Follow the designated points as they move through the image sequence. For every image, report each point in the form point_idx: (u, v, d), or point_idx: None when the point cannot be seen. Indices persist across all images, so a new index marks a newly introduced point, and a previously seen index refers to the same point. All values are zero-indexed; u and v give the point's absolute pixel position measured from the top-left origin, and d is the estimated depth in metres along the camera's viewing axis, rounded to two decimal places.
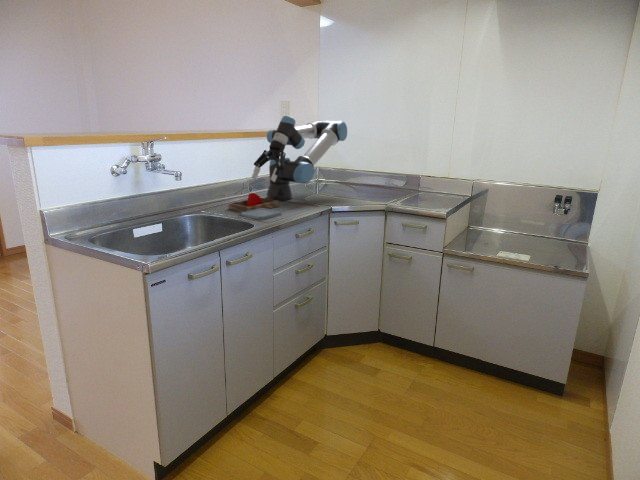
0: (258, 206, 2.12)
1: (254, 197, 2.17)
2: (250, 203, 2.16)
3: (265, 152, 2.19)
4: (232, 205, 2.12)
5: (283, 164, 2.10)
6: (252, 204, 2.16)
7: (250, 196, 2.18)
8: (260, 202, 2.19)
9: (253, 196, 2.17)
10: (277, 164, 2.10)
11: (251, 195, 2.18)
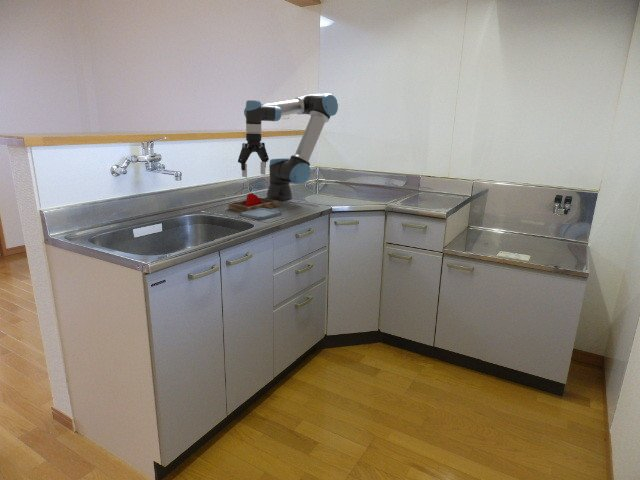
0: (258, 206, 2.12)
1: (252, 197, 2.16)
2: (248, 203, 2.15)
3: None
4: (232, 205, 2.12)
5: (240, 157, 2.05)
6: (250, 204, 2.15)
7: (248, 196, 2.17)
8: (258, 202, 2.18)
9: (251, 196, 2.16)
10: None
11: (249, 195, 2.17)
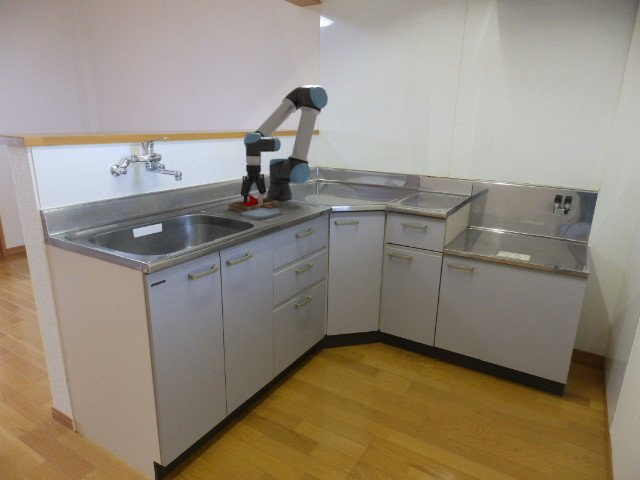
0: (258, 206, 2.12)
1: (250, 199, 2.14)
2: (246, 205, 2.13)
3: None
4: (232, 205, 2.12)
5: (242, 191, 2.11)
6: (248, 206, 2.13)
7: None
8: (256, 204, 2.16)
9: (249, 198, 2.14)
10: None
11: None
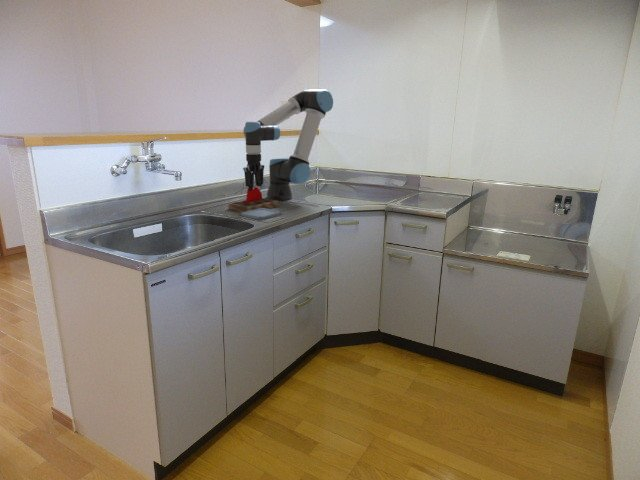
0: (258, 206, 2.12)
1: (253, 190, 2.15)
2: (249, 196, 2.14)
3: None
4: (232, 205, 2.12)
5: (247, 182, 2.12)
6: (251, 197, 2.14)
7: None
8: (259, 195, 2.16)
9: (252, 189, 2.15)
10: None
11: None
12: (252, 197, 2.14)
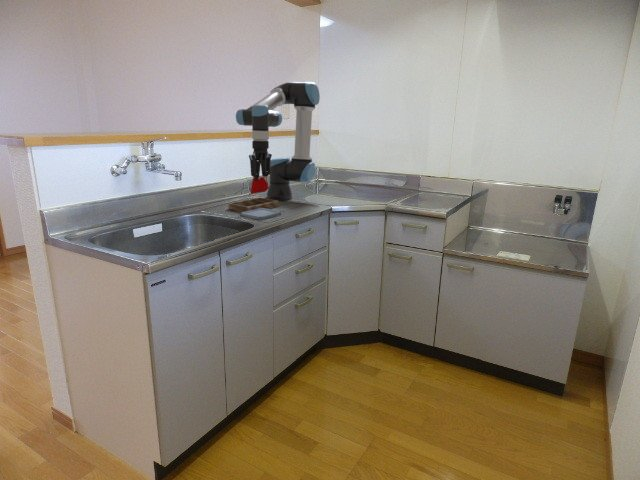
0: (258, 206, 2.12)
1: (259, 180, 1.96)
2: (254, 187, 1.95)
3: (265, 155, 2.01)
4: (232, 205, 2.12)
5: (252, 171, 1.94)
6: (257, 188, 1.96)
7: None
8: (265, 186, 1.98)
9: (258, 179, 1.97)
10: None
11: None
12: (257, 188, 1.96)
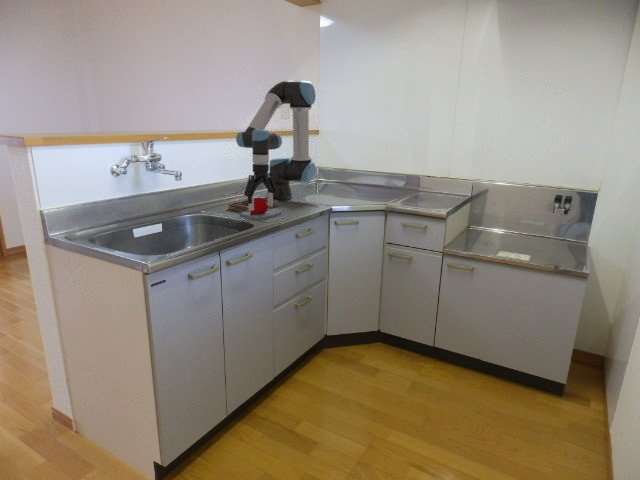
0: None
1: (259, 202, 1.99)
2: (254, 208, 1.98)
3: None
4: (232, 205, 2.12)
5: (247, 190, 1.93)
6: (256, 209, 1.98)
7: (254, 201, 2.00)
8: (265, 208, 2.01)
9: (258, 201, 1.99)
10: None
11: (255, 200, 2.00)
12: (257, 209, 1.98)
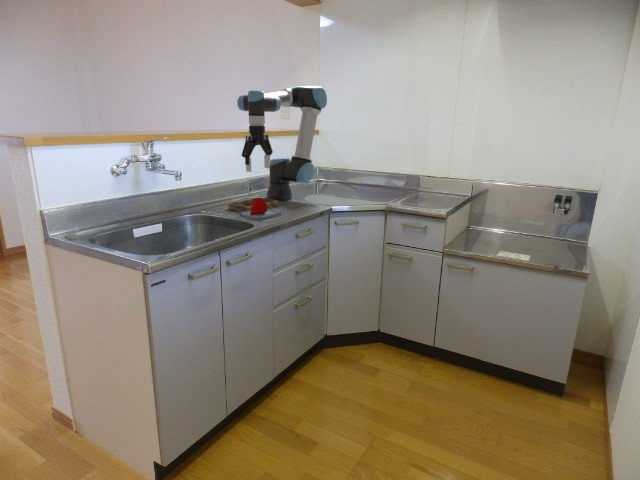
0: None
1: (259, 202, 1.99)
2: (254, 208, 1.98)
3: None
4: (232, 205, 2.12)
5: (244, 151, 1.95)
6: (256, 209, 1.98)
7: (254, 201, 2.00)
8: (265, 208, 2.01)
9: (258, 201, 1.99)
10: None
11: (255, 200, 2.00)
12: (257, 209, 1.98)
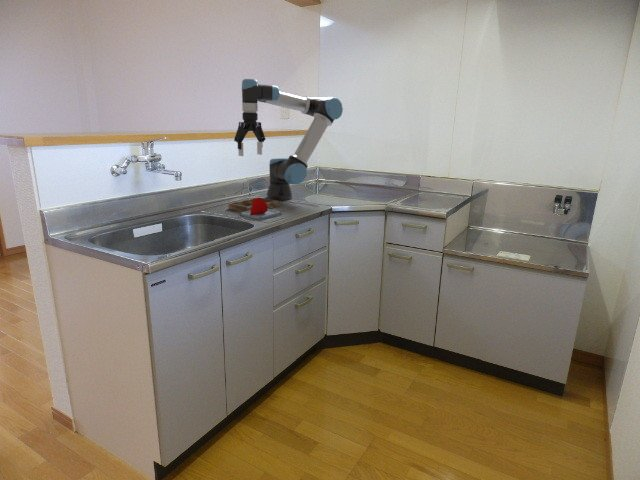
0: None
1: (259, 202, 1.99)
2: (254, 208, 1.98)
3: None
4: (232, 205, 2.12)
5: (236, 136, 2.06)
6: (256, 209, 1.98)
7: (254, 201, 2.00)
8: (265, 208, 2.01)
9: (258, 201, 1.99)
10: None
11: (255, 200, 2.00)
12: (257, 209, 1.98)
